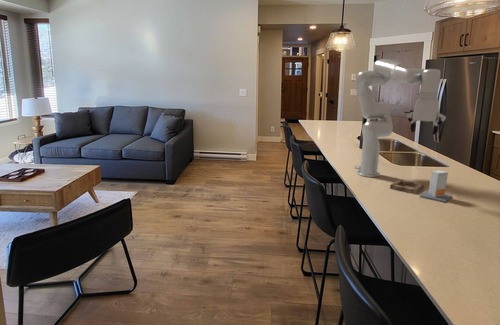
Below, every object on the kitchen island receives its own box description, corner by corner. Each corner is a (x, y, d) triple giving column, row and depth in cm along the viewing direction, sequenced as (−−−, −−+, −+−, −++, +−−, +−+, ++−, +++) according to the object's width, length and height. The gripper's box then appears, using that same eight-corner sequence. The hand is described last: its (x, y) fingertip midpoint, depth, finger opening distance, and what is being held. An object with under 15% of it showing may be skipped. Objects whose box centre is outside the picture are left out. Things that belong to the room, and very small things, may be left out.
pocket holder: (389, 188, 183) (390, 184, 182) (399, 183, 192) (399, 179, 191) (415, 194, 174) (415, 190, 174) (423, 188, 184) (424, 184, 183)
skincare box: (434, 197, 167) (438, 173, 164) (427, 194, 171) (431, 170, 168) (444, 196, 169) (448, 172, 166) (437, 193, 173) (441, 169, 170)
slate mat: (419, 197, 170) (420, 195, 170) (427, 191, 178) (427, 190, 178) (444, 202, 163) (445, 201, 163) (451, 196, 171) (451, 195, 170)
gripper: (406, 96, 167) (402, 131, 171) (446, 97, 156) (440, 136, 160) (411, 95, 172) (407, 130, 177) (451, 97, 161) (445, 134, 165)
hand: (423, 132), depth 168 cm, fingers open, 9 cm apart
